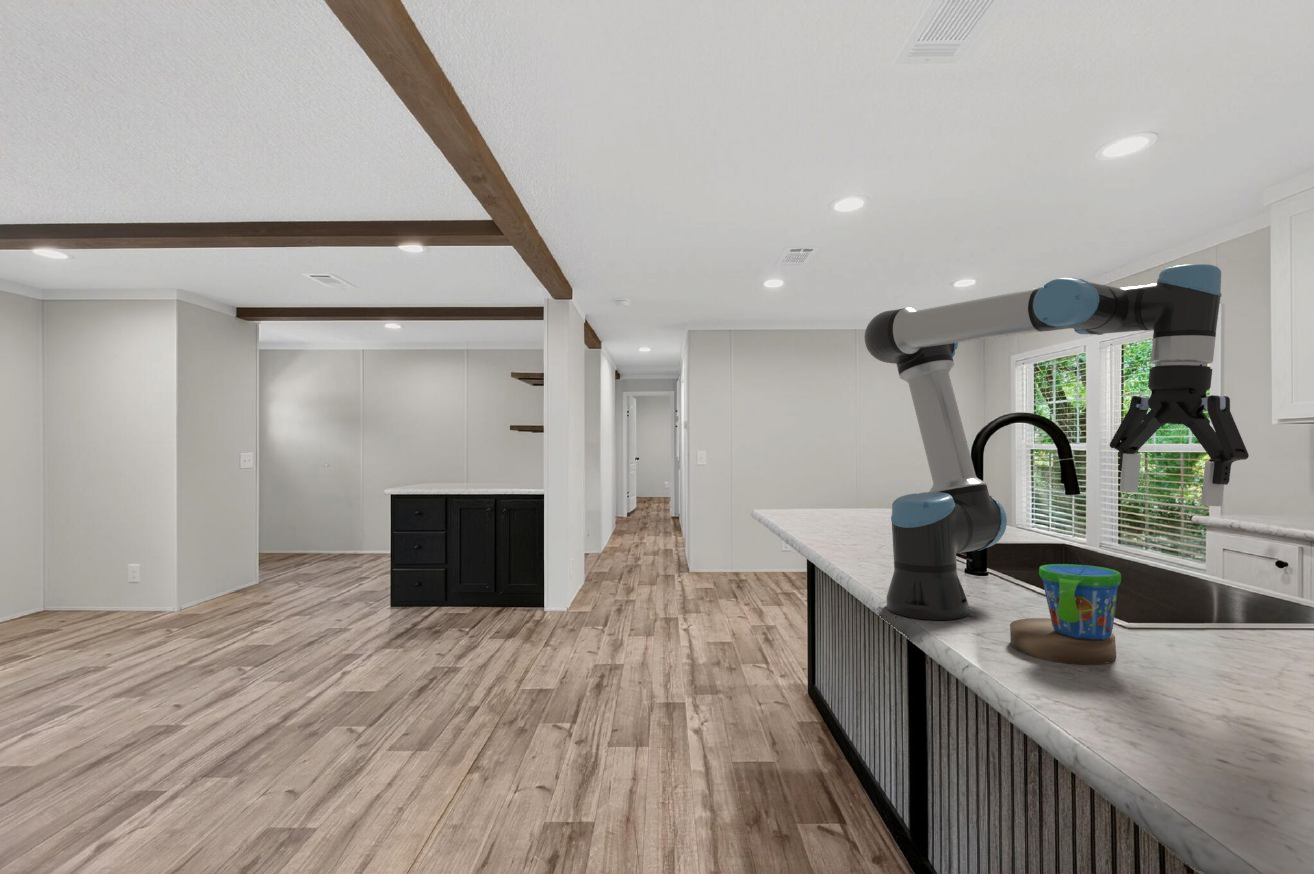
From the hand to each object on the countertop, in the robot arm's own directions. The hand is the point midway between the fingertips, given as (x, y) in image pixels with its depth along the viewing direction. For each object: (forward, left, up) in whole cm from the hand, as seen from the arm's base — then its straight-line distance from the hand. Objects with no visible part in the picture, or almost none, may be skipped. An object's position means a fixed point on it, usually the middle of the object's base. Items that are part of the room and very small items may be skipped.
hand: (1166, 498), depth 95 cm
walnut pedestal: (-3, -17, -24) cm, 30 cm away
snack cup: (-1, -16, -21) cm, 26 cm away
